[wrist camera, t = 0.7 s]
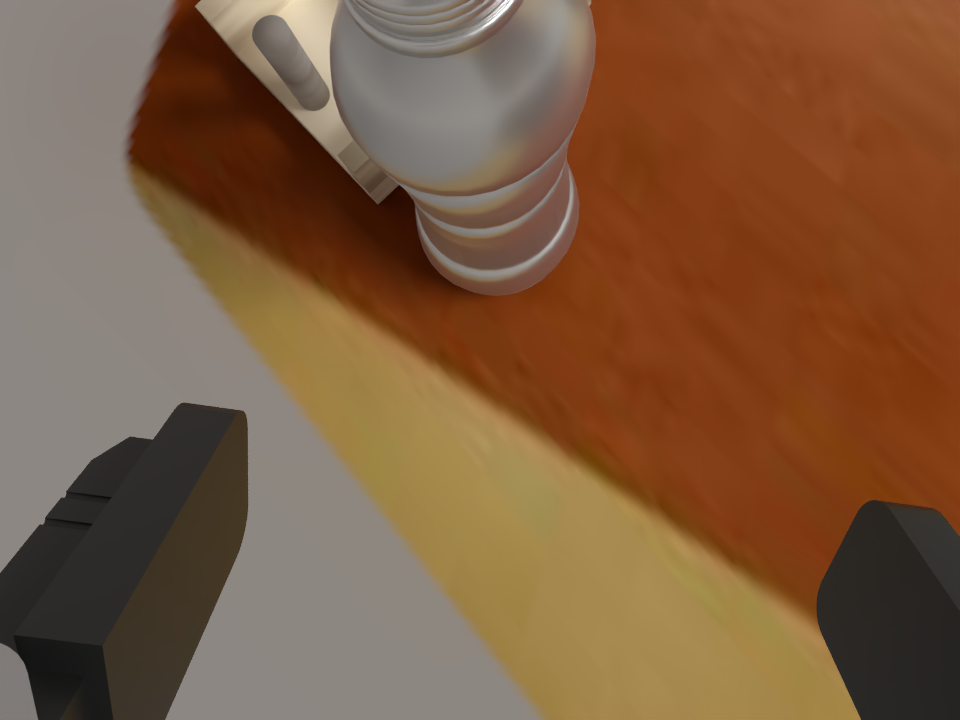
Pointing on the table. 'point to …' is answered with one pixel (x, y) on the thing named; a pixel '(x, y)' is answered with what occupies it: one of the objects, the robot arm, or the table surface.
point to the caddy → (297, 71)
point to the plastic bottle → (471, 124)
